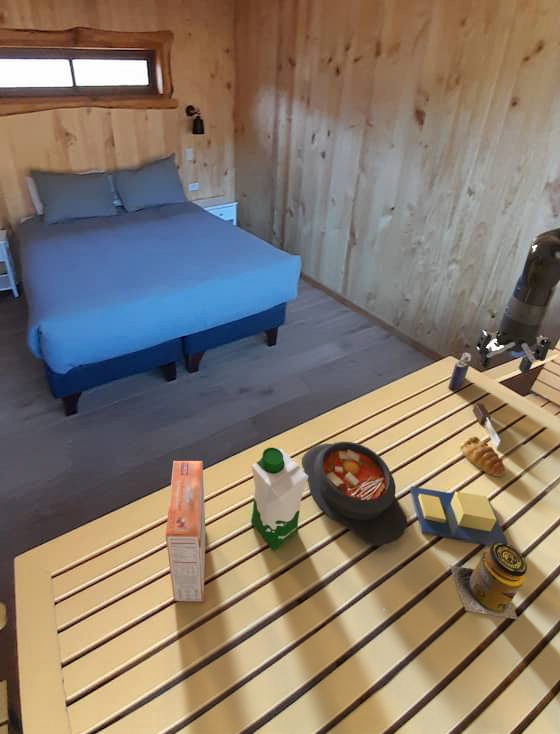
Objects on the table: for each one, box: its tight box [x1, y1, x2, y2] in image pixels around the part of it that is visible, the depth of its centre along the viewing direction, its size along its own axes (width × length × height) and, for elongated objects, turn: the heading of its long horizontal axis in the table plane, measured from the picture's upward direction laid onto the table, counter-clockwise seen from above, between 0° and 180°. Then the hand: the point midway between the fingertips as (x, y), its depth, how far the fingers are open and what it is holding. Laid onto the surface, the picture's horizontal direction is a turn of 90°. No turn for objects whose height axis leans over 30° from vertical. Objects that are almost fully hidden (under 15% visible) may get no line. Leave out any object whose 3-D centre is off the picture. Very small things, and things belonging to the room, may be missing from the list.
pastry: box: [459, 435, 506, 477], centre depth 97 cm, size 9×7×4 cm
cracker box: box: [165, 460, 206, 603], centre depth 75 cm, size 14×6×21 cm, turn 178°
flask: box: [447, 352, 473, 392], centre depth 120 cm, size 9×3×11 cm, turn 133°
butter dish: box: [409, 486, 509, 547], centre depth 85 cm, size 16×10×5 cm, turn 78°
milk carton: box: [250, 447, 308, 552], centre depth 80 cm, size 9×9×20 cm
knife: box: [472, 402, 502, 450], centre depth 106 cm, size 13×2×3 cm, turn 168°
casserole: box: [301, 441, 409, 546], centre depth 89 cm, size 25×19×8 cm
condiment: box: [449, 542, 528, 620], centre depth 71 cm, size 7×8×12 cm
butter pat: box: [418, 494, 446, 523], centre depth 86 cm, size 1×5×4 cm
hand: (502, 368), depth 101 cm, fingers open, 8 cm apart
